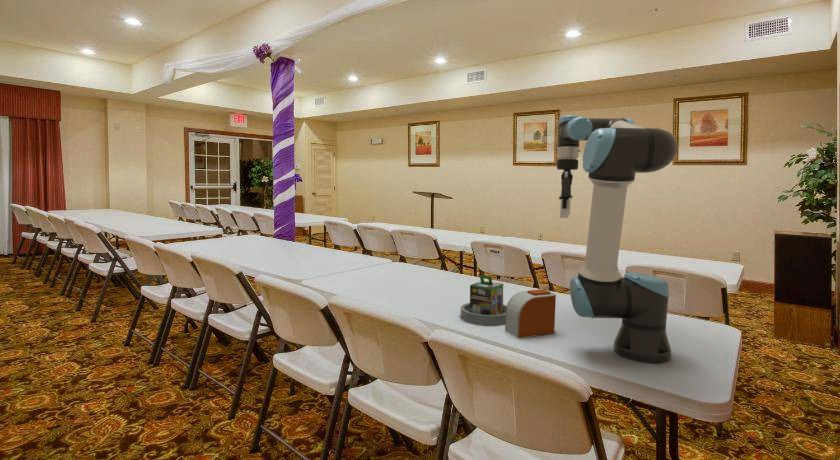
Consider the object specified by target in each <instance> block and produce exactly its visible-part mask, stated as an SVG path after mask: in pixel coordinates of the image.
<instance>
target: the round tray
mask: <svg viewBox="0 0 840 460" xmlns="http://www.w3.org/2000/svg"><path fill="white" fill-rule="evenodd" d="M506 307H507V304H504V303H503V314H499V315H482V314H475V313H471V312H470V302H466V303H463V304H462V305H461V306H460V312H459V314H460V319H461V320H462V321H464V322H466V323H469V324H474V325H478V326H487V327H488V326H489V327H490V326H492V327H493V326H494V325H495V326H496V325H497V326H502V325H505V319H506Z"/></svg>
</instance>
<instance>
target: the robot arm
mask: <svg viewBox="0 0 840 460" xmlns="http://www.w3.org/2000/svg"><path fill="white" fill-rule="evenodd" d="M557 129H558V133H557V136H558V137H557V152H556V153H557V154H556V155H557V156H556V158H557V160H556V169H557V170H559V171H560V170H562V171H563V172H562V173H561V175H560V176H561V177H560V178H561V181H560V183H561V192H560V196H558V200H560V214H559V218H560V219H561V218H562V219H568V218H569V216H571V199H573V195H572V185H573V176H574V175H573V174H572V170H573V171H577V170H578V169H579V159H578V158H579V155H580V154H579V153H581V151H582V150H581V149H579V148H580V141H586V143H585V145H584V149H583V153H582V169H583V170H584V172H586V173H587V174H588V179H589V181H590V182H591V183H592V185H593V187H592V195H591V204H590V213H589V214H590V215H589V222H588V232H587V241H586V250H585V259H584V265H583V266H581V267H580V268H579V269H578V271H577V272H578V273H577V274H578V275H577V276H573V277H571V279H570V281H569V294H570V300H571V304H572V307H573V310H574V311H575V313H576V315H577V316H579V317H580V318H581V317H582V318H591V319H621V325H620V327H619V330H618V332H617V335H616V336H615V338H614V342H613V351H614V352H615V353H616V354H617V355H619V356H621V357H623V358H626V359H629V360H631V361H632V360H633V361H638V362H641V363H651V364H656V363H659V364H660V363H666V362H669V361H670V360H671V359H672V347H671V344H670V342H669V338H668V335H667V317H668V309H669V308H668V307H669V298H670V293H669V283H668V282H667V281H666V280H665V279H663V278H660V277H657V276H653V275H650V274H646V273H641V272H633V271H632V272H629V271H628V272H626V273H624V275H623V277H622V274H621V272H620V271H619V270H618V262H619V254H620V247H621V246H620V245H621V238H622V230H623V225H624V223H623V222H624V215H625V208H626V199H627V193H628V186H630V185H631V184H632V183H634V182H635V181H636V180H635V179H636V174H637V173H640V174H641V173H642V174H643V173H646V174H648V173H654V172H657V171H660V170H662V169H664V168H666V167H668V166H669V165H670V164H671V163H672V162H673V160H674V159H675V157H676V156H677V153H678V147H679V146H678V141H677V138H676V137H675V136H674V135H673V134H672V133H671V132H670V131H667V130H665V129H662V128H658V127H654V128H653V127H652V128H651V127H649V128H647V127H644V126H640V125H638V124H635V122H634V120H633V119H632V118H625V117H624V118H623V117H620V118H617V117H616V118H600V117H599V118H596V117H593V118H592V117H591V118H588V117H586V116H579V115H574V114H571V115H569V114H567V115H562V116H560V117H559V120H558V127H557Z"/></svg>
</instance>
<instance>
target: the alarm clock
mask: <svg viewBox="0 0 840 460" xmlns="http://www.w3.org/2000/svg"><path fill="white" fill-rule="evenodd" d="M556 297H557V295H556V294H555V293H554V292H551V291H549V290H546V289H542V288H541V289H532V290H527V291H526V290H525V291H524V290H523V291H520V292H517V293H516V294H514V295H512V296H511V297H510V299H509V300H508V302H507V304H506V305H507V307H506V319H505V324H504V325H505V326H504V328H505V329H504V331H505V330H506V332H507V333H508V334H511V335H513V336H514V337H516V338H517V337H518V338H517V339H521V337H522V338H528V337H527V336H529V337H535V336H534V335H537V336H542V334H544V335H550V334H554V333H555V326H556V325H555V323H556V303H557V302H556V301H557V300H556V299H557V298H556Z"/></svg>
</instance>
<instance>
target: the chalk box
mask: <svg viewBox="0 0 840 460" xmlns="http://www.w3.org/2000/svg"><path fill="white" fill-rule="evenodd" d="M479 278H480V281H478V282H474V283H472V284H470V285H469V303H470V312H471V313H475V314H482V315H499V314H503V304H504V283H501V282H494V281H493V277H492V276H490V275H485V274H480V275H479ZM485 279H487V280H488V281H487V280H485Z"/></svg>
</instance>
